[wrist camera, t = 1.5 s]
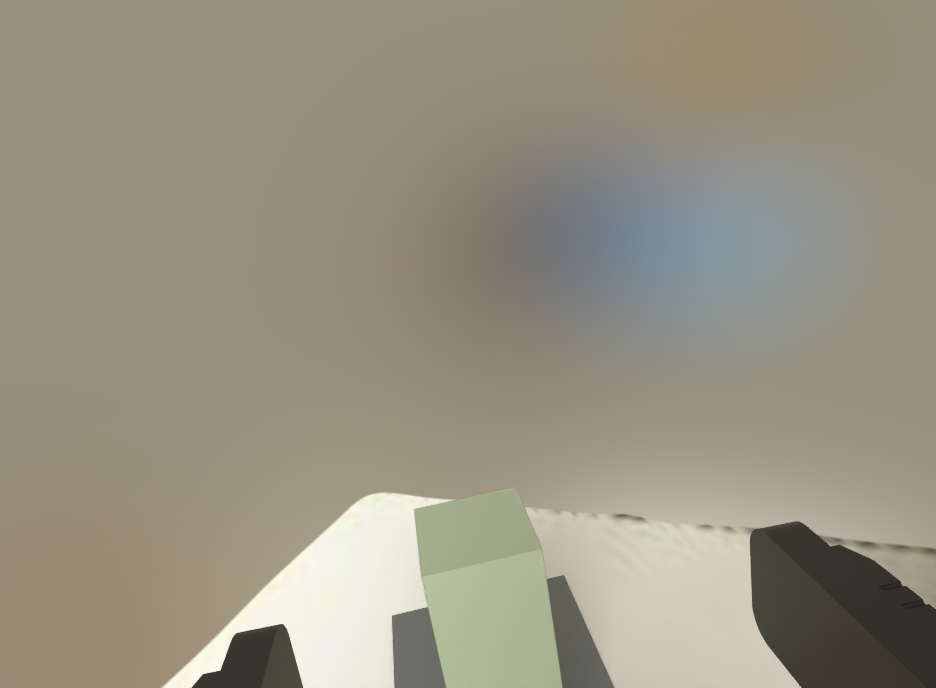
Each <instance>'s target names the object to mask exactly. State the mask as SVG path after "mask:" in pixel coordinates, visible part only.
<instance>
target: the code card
mask: <svg viewBox="0 0 936 688" xmlns="http://www.w3.org/2000/svg"><path fill="white" fill-rule="evenodd" d="M547 586H548V593H549V599H550V606H551V613H552V620H553V626H554V633H555V640H556V647H557V653H558V660H559V667H560V674H561V680H562V687H563V688H614V687H613V685H612V683H611V680H610V678H609V676H608V674H607V671H606V669H605V667H604V665H603V662H602V660H601V658H600V656H599V653H598V651H597V649H596V647H595V644H594V642H593V640H592V638H591V635H590V633H589V631H588V629H587V626H586V624H585V622H584V620H583V618H582V615H581V613H580V611H579V609H578V606H577V604H576V602H575V600H574V597H573V595H572V593H571V591H570V588H569V586H568V584H567V582H566V579H565V577H564V575H563V576H559V577H555V578H550V579H547ZM392 626H393V654H394V681H395V688H446V685H445V680H444V676H443V671H442V667H441V662H440V658H439V653H438V649H437V645H436V640H435V636H434V631H433V627H432V622H431V618H430V613H429V609H428V608H423V609H419V610H415V611H411V612H406V613H402V614H398V615H394V616H392Z"/></svg>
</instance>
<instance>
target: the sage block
mask: <svg viewBox="0 0 936 688" xmlns="http://www.w3.org/2000/svg"><path fill="white" fill-rule="evenodd" d="M414 514H415V523H416V532H417V542H418V551H419V560H420V569H421V578H422V582H423V587H424V591H425V596H426V600H427V605H428V609H429V613H430V618H431V622H432V627H433V631H434V636H435V640H436V645H437V649H438V653H439V658H440V662H441V667H442V671H443V676H444V680H445V685H446V688H563V687H562V680H561V674H560V667H559V660H558V653H557V647H556V640H555V633H554V626H553V620H552V613H551V606H550V599H549V593H548V586H547V579H546V573H545V566H544V559H543V552H542V548H541V546H540V543H539V541H538V538H537V536H536V534H535V531H534V529H533V526H532V524H531V522H530V519H529V517H528V515H527V512H526V510H525V507H524V505H523V503H522V500H521V498H520V496H519V493H518V491H517V488H516V487H513V488H508V489H503V490H499V491H495V492H490V493H486V494H481V495H477V496H472V497H468V498H463V499H458V500H454V501H449V502H445V503H440V504H436V505H431V506H427V507H422V508H418V509H414Z"/></svg>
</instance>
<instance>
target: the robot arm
mask: <svg viewBox="0 0 936 688" xmlns="http://www.w3.org/2000/svg"><path fill="white" fill-rule="evenodd" d="M750 556H751V583H752V606H753V613H754V617H755V620H756V623H757V626H758V628H759V630H760V633H761V635H762V637H763V638H764V640H765V642H766V643H767V645H768V646H769V647H770V649H771V650H772V651H773V652H774V654H775V655H776V656H777V657H778V659H779V660H780V661H781V662H782V664H783V665H784V666H785V667H786V669H787V670H788V671H789V672H790V674H791V675H792V676H793V677H794V679H795V680H796V681H797V682H798V684H799V685H800V686H801V687H802V688H936V609H934V608H933V607H932V606H931V605H929V604H928V605H925V603H924V601H923V599H922V598H920V597H919V596H918V595H917V594H915V593H914V592H913V591H912V590H910V589H909V588H908V587H907V586H904V587H903V586H902V585H901V582H900V581H899V580H898V579H897V578H895V577H894V576H893V575H892V574H890V573H889V572H888V571H887V570H885V569H884V568H883V567H881V566H880V565H879V564H878V563H876V562H875V561H874V560H872V559H870V558H867V557H865V556H863V555H861V554H859V553H856V552H854V551H852V550H850V549H848V548H845V547H843V546H841V545H836V546H830V545H828V544H827V543H826V542H825V541H824V540H822V539H821V538H820V537H819V536H818V535H816V534H815V533H814V532H813V531H811V530H810V529H809V528H808V527H807V526H806V525H804V524H803V523H801V522H791V523H786V524H781V525H776V526H771V527H766V528H761V529H756V530H754V531H753V532H752V534H751V537H750ZM192 688H303V685H302V682H301V678H300V674H299V671H298V667H297V663H296V660H295V656H294V652H293V649H292V645H291V641H290V638H289V634H288V631H287V629H286V627H285V626H284V625H283V624H279V625H274V626H270V627H265V628H260V629H255V630H250V631H245V632H240V633H236V634H235V635H234V637H233V638H232V641H231V643H230V646H229V649H228V652H227V654H226V657H225V660H224V662H223V665H222V668H221V671H217V672H212V673H207V674H203V675H202V676H201V677H200V679H199V680H198V681H197V682H196V683H195V684H194V686H193V687H192Z"/></svg>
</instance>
